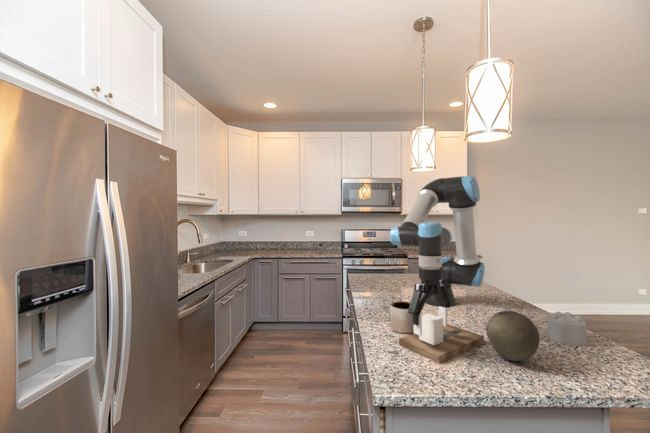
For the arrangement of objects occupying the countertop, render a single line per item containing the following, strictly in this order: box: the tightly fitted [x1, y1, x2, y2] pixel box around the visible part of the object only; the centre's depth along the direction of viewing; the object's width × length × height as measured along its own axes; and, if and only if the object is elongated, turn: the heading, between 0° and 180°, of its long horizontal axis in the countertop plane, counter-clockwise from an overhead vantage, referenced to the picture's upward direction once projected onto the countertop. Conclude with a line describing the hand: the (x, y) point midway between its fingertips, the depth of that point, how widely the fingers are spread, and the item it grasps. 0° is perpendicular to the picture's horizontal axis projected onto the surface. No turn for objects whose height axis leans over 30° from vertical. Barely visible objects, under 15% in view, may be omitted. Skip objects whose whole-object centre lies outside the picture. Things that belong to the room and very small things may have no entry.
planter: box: [389, 301, 418, 335], centre depth 120 cm, size 11×11×10 cm
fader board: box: [398, 323, 485, 364], centre depth 105 cm, size 26×16×2 cm, turn 124°
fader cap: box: [419, 313, 443, 345], centre depth 102 cm, size 5×6×8 cm
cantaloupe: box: [486, 310, 541, 362], centre depth 93 cm, size 14×14×15 cm
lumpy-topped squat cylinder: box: [546, 311, 588, 347], centre depth 109 cm, size 10×13×9 cm
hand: (430, 329), depth 102 cm, fingers open, 13 cm apart
